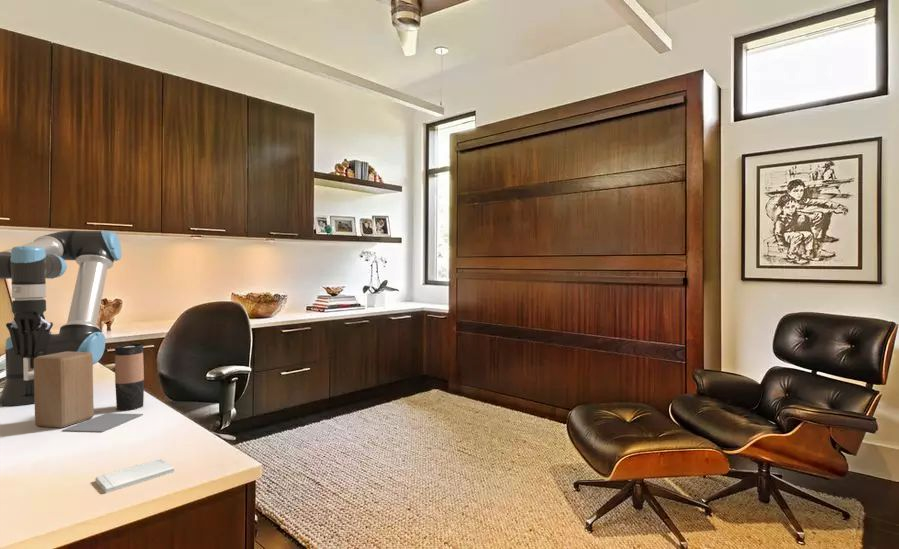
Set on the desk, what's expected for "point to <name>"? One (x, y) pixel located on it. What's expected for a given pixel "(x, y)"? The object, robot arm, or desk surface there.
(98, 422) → the mat
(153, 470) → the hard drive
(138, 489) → the desk surface
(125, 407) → the travel mug
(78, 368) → the block
